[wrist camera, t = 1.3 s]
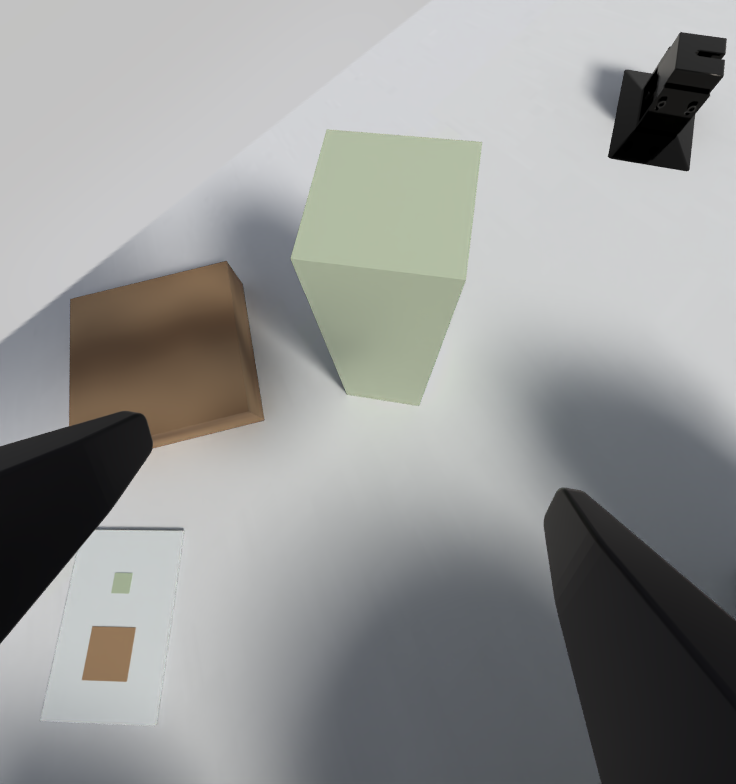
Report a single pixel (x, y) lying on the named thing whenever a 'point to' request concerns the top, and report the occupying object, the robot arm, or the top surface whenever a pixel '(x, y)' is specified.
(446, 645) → the top surface
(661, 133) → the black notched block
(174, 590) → the blueprint card
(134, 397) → the foundation slab
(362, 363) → the pillar
